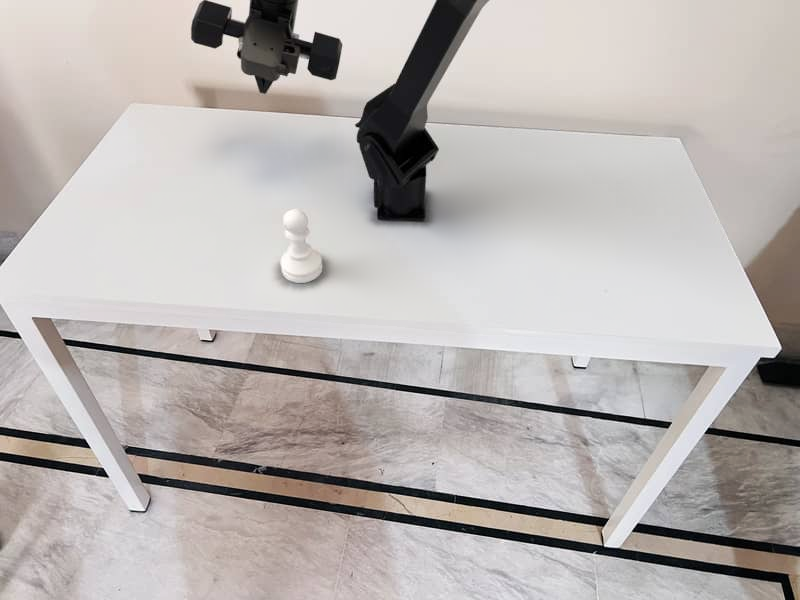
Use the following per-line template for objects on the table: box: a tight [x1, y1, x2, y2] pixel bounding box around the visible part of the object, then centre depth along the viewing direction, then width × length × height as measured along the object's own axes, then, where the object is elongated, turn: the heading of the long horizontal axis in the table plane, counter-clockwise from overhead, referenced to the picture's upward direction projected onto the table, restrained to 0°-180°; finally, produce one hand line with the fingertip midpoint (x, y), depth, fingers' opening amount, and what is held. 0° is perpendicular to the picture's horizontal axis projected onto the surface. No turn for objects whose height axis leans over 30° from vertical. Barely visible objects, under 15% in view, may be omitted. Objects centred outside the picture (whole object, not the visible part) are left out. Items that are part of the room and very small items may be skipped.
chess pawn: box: [280, 208, 324, 284], centre depth 72 cm, size 5×5×9 cm
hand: (263, 91), depth 86 cm, fingers closed
